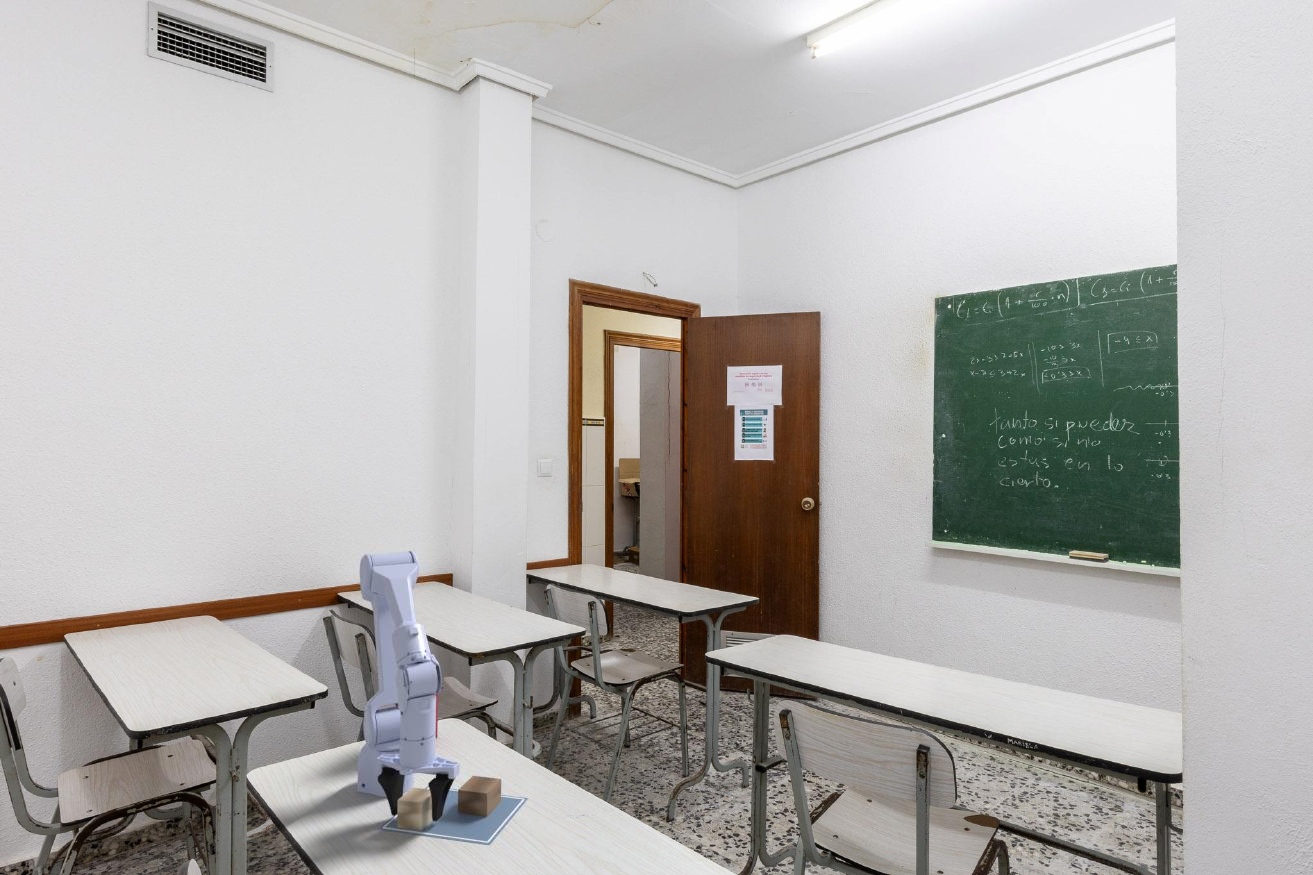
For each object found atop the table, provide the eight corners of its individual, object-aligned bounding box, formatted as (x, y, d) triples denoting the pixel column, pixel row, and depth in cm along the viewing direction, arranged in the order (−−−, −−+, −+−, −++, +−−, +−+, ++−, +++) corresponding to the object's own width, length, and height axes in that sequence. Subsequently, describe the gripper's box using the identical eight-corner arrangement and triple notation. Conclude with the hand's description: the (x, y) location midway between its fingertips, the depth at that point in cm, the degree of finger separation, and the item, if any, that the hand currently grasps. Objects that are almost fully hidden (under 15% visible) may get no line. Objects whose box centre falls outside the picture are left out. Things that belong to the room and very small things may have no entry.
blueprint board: (378, 833, 117) (378, 828, 117) (428, 790, 133) (428, 785, 133) (489, 849, 113) (489, 844, 113) (528, 802, 128) (528, 797, 128)
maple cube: (397, 827, 118) (397, 799, 118) (412, 813, 122) (412, 787, 122) (421, 830, 117) (422, 803, 117) (435, 816, 121) (436, 790, 121)
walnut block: (457, 813, 123) (458, 789, 123) (472, 797, 128) (473, 775, 128) (487, 816, 121) (487, 793, 122) (501, 801, 127) (501, 778, 127)
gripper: (365, 739, 118) (364, 822, 117) (444, 748, 114) (443, 833, 114) (390, 723, 125) (389, 801, 124) (465, 731, 121) (465, 811, 121)
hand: (417, 815), depth 120 cm, fingers open, 7 cm apart
